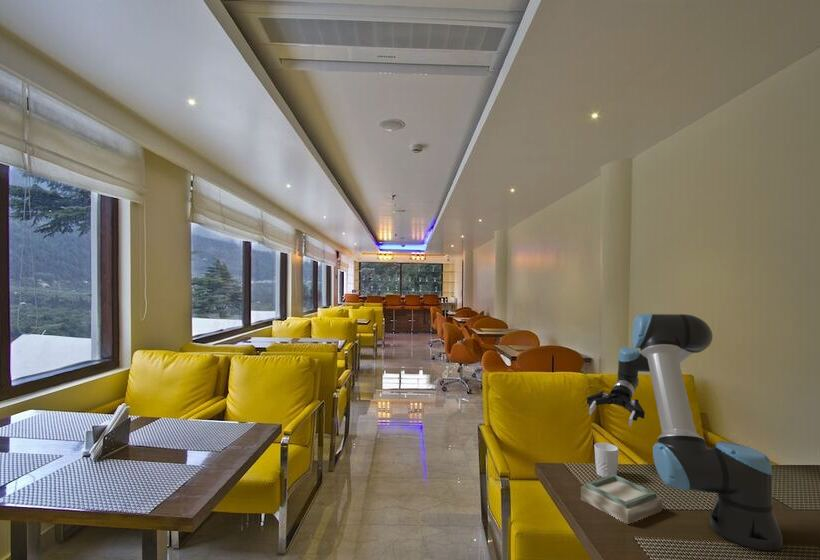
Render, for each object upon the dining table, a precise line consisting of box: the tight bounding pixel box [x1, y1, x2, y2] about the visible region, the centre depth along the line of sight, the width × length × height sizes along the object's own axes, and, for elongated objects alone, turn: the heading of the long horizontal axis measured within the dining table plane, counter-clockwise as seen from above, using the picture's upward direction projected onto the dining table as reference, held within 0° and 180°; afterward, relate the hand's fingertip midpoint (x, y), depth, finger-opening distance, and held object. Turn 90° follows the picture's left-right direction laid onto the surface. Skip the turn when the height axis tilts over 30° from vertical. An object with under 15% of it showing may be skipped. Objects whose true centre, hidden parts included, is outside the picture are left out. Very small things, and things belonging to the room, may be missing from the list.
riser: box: [580, 474, 663, 525], centre depth 124 cm, size 16×16×5 cm
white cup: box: [593, 442, 619, 478], centre depth 145 cm, size 8×8×10 cm
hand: (609, 416), depth 148 cm, fingers open, 13 cm apart
